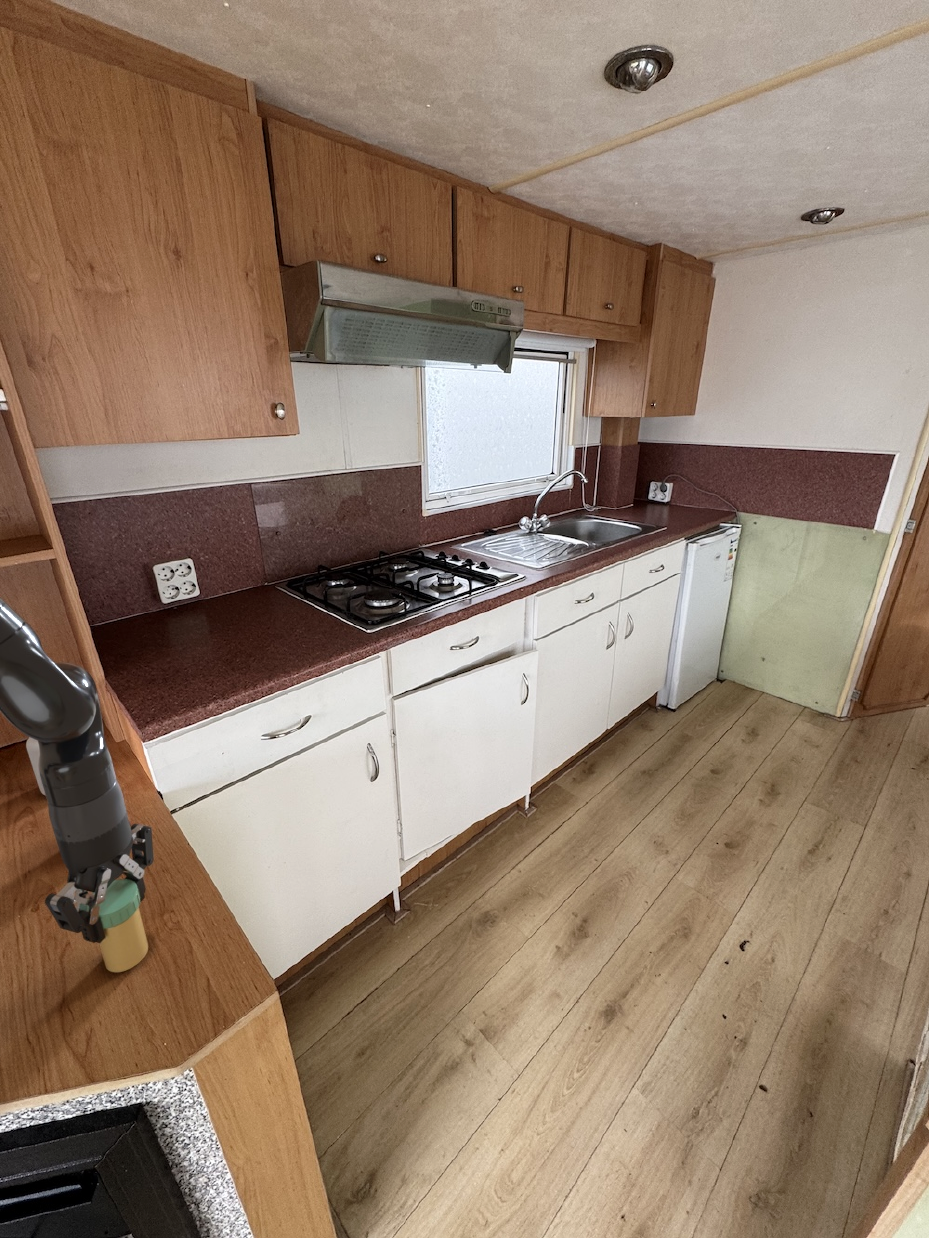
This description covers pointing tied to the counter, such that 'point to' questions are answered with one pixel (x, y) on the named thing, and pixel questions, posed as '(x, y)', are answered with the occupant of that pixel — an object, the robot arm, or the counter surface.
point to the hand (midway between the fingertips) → (117, 918)
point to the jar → (124, 944)
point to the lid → (119, 902)
